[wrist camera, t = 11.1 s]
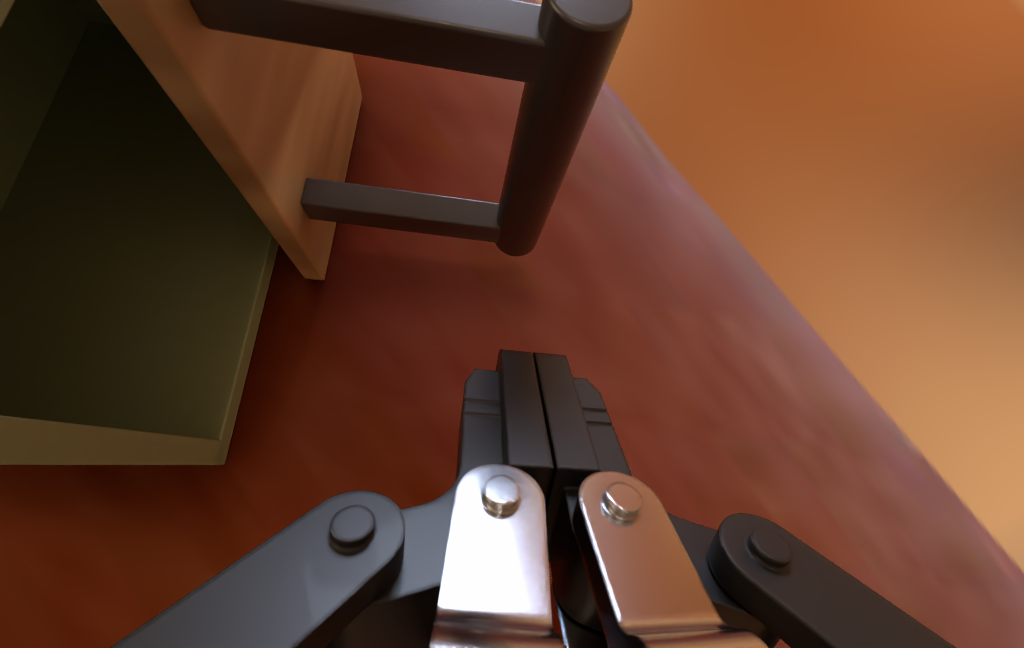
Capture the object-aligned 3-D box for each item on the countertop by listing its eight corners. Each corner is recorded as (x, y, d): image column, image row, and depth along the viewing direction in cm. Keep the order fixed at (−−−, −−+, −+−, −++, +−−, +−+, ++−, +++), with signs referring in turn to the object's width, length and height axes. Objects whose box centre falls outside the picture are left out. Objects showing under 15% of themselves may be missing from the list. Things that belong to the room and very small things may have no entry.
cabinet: (-107, 443, 15) (-2073, 365, 3) (89, 21, 20) (-377, -562, 9) (252, 466, 16) (-237, 471, 4) (344, 63, 21) (230, -398, 10)
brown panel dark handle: (303, 279, 18) (68, -33, 7) (344, 94, 20) (226, -346, 9) (522, 303, 19) (636, 67, 8) (533, 123, 21) (629, -242, 10)
